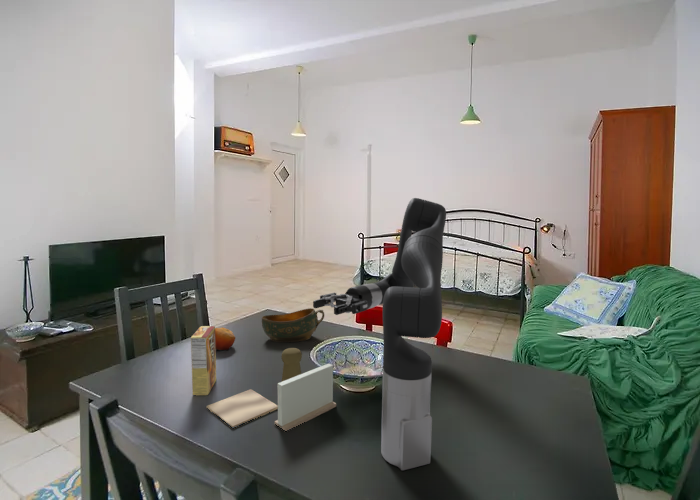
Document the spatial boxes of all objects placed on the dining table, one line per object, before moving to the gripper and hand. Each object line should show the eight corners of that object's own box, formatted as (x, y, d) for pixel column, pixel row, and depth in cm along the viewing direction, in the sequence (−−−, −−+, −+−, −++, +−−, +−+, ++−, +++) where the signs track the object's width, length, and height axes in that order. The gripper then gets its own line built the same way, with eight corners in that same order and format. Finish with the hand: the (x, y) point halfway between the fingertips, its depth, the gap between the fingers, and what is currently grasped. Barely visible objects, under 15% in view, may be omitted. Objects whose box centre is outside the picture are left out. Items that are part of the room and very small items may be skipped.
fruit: (202, 342, 133) (215, 321, 134) (224, 351, 136) (236, 330, 137) (204, 351, 126) (218, 328, 127) (227, 360, 129) (240, 338, 130)
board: (278, 408, 95) (278, 406, 95) (232, 429, 86) (232, 426, 86) (250, 391, 103) (250, 389, 103) (206, 408, 95) (206, 405, 95)
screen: (324, 400, 99) (325, 361, 98) (336, 406, 96) (336, 366, 95) (274, 424, 88) (273, 381, 87) (285, 432, 85) (285, 387, 84)
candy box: (201, 380, 109) (199, 325, 107) (217, 379, 110) (215, 325, 108) (192, 396, 100) (189, 337, 98) (209, 395, 101) (207, 337, 99)
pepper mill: (305, 385, 107) (305, 345, 105) (300, 396, 101) (300, 354, 99) (283, 384, 107) (283, 344, 106) (277, 395, 101) (276, 353, 100)
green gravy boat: (312, 347, 133) (312, 318, 132) (259, 341, 139) (258, 313, 138) (325, 335, 146) (325, 308, 145) (276, 330, 151) (275, 304, 150)
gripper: (347, 281, 125) (307, 289, 114) (382, 289, 116) (342, 299, 104) (347, 304, 126) (307, 315, 115) (381, 314, 117) (342, 327, 105)
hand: (324, 307), depth 110 cm, fingers open, 8 cm apart
